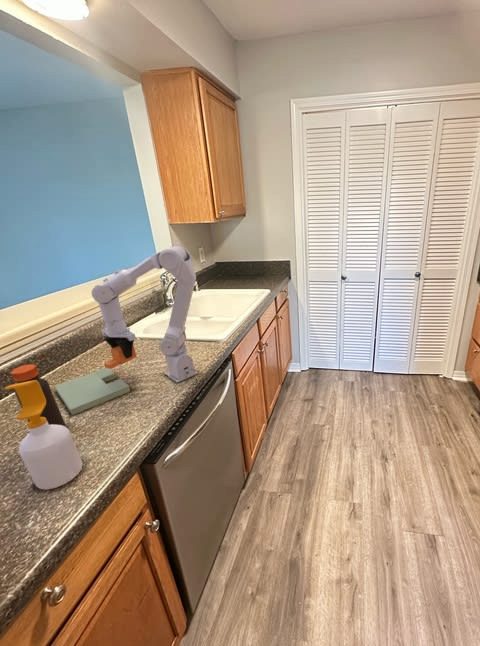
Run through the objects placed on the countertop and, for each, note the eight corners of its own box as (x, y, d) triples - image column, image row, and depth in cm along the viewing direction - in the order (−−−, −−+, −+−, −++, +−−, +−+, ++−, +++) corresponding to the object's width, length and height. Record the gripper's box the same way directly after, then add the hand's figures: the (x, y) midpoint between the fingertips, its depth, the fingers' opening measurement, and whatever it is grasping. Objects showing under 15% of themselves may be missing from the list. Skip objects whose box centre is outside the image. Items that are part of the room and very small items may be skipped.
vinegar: (49, 425, 91) (21, 362, 83) (72, 424, 91) (47, 361, 83) (30, 442, 85) (-2, 376, 77) (55, 441, 84) (25, 375, 76)
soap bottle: (30, 496, 69) (-21, 399, 59) (42, 467, 76) (-1, 377, 67) (79, 481, 72) (38, 387, 62) (86, 454, 79) (50, 367, 70)
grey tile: (130, 391, 105) (128, 385, 105) (72, 415, 95) (70, 409, 94) (109, 371, 118) (108, 367, 118) (56, 391, 108) (54, 385, 107)
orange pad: (136, 357, 113) (133, 344, 111) (111, 369, 106) (107, 355, 104) (129, 355, 115) (125, 342, 113) (104, 367, 107) (99, 353, 105)
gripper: (139, 317, 106) (148, 354, 111) (111, 312, 112) (121, 348, 118) (119, 325, 100) (130, 363, 106) (91, 319, 106) (103, 356, 112)
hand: (124, 356), depth 111 cm, fingers closed on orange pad, 4 cm apart
